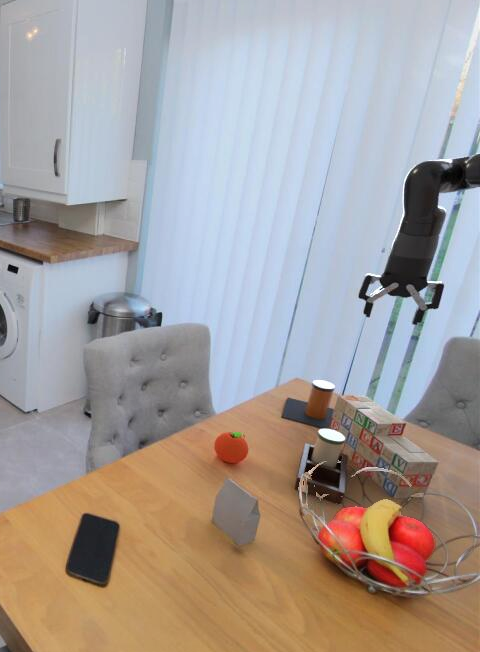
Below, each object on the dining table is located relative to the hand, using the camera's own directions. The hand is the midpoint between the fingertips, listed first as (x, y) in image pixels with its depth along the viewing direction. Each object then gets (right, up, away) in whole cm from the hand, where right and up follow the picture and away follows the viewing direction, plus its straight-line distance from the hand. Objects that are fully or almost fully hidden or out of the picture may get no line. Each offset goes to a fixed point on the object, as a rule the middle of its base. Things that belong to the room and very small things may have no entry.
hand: (390, 320), depth 114 cm
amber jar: (-9, -25, +13) cm, 29 cm away
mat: (-9, -25, +13) cm, 30 cm away
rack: (-24, -35, -9) cm, 43 cm away
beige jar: (-21, -33, -7) cm, 40 cm away
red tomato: (-39, -33, -2) cm, 51 cm away
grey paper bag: (-50, -41, -22) cm, 68 cm away
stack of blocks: (-10, -33, -6) cm, 35 cm away
